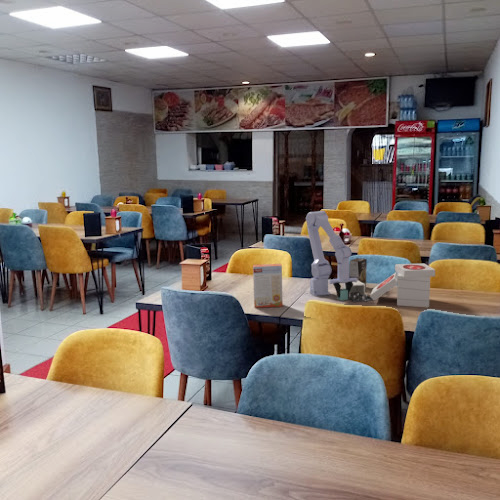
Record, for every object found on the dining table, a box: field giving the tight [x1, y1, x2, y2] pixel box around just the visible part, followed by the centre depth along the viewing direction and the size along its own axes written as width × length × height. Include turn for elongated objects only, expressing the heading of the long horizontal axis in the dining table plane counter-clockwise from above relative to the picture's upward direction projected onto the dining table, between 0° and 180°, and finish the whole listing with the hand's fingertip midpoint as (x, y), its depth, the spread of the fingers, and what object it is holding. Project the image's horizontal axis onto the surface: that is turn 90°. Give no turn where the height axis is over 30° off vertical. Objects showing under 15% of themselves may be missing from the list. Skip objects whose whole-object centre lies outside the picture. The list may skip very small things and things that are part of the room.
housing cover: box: [342, 281, 366, 297], centre depth 273 cm, size 9×8×6 cm
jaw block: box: [337, 288, 349, 302], centre depth 266 cm, size 4×4×5 cm
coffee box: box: [349, 257, 368, 288], centre depth 286 cm, size 9×6×16 cm
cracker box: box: [252, 263, 284, 309], centre depth 256 cm, size 14×6×21 cm, turn 92°
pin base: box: [348, 292, 374, 303], centre depth 270 cm, size 10×17×2 cm, turn 12°
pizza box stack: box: [369, 263, 436, 308], centre depth 258 cm, size 19×30×18 cm, turn 70°
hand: (342, 296), depth 266 cm, fingers closed on jaw block, 4 cm apart
